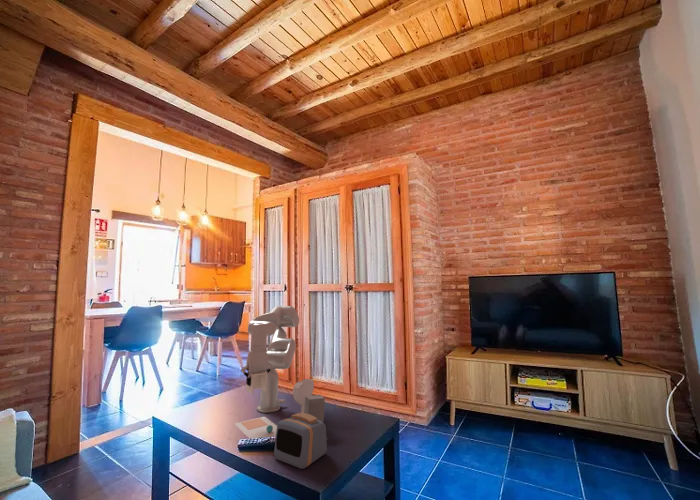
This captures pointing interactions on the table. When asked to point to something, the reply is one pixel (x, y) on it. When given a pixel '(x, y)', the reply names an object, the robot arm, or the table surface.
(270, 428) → the marble
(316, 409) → the skincare box
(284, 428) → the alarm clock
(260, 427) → the mat
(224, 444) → the table surface
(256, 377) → the cream rectangular block
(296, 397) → the heart sculpture
